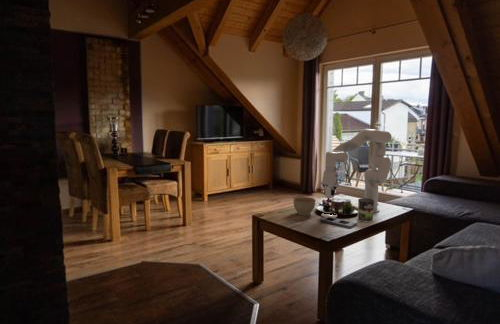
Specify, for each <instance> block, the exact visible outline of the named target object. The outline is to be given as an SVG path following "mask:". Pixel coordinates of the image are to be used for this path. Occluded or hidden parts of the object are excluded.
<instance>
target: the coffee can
mask: <svg viewBox="0 0 500 324" xmlns="http://www.w3.org/2000/svg"><path fill="white" fill-rule="evenodd" d="M357 200H358V202H357V204H358V205H357V206H358V207H357V220H358V221H359V222H363V223H371V222H373V220H374V213H373V206H374V200H372V199H367V198H359V199H357Z"/></svg>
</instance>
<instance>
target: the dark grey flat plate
mask: <svg viewBox="0 0 500 324" xmlns="http://www.w3.org/2000/svg"><path fill="white" fill-rule="evenodd" d="M320 222H322V223H325V224H329V225H334V226H338V227H342V228H346V229H352V228H354V227H356V226H357V224H358V223H357V222H354V221H349V220H346V219H341V218H337V217H336V218H333V217H329V216H327V217H325V218H324V217H322V218H320Z"/></svg>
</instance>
